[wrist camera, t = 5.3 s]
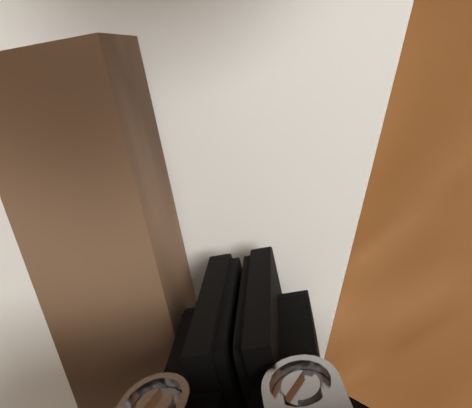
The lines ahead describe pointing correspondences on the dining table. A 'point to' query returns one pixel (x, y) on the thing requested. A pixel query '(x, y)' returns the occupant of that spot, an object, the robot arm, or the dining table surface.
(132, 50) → the walnut link
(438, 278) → the dining table surface
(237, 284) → the robot arm
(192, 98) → the pintle board
